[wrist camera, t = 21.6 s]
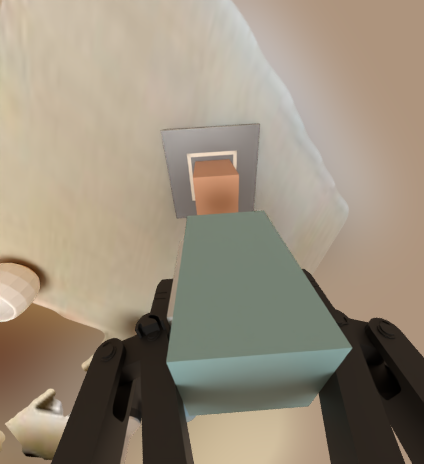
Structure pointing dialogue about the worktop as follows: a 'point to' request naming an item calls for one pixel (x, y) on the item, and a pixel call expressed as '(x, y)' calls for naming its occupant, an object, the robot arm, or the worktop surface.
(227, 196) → the terracotta block
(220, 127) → the base plate
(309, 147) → the worktop surface
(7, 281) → the cup
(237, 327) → the teal block
